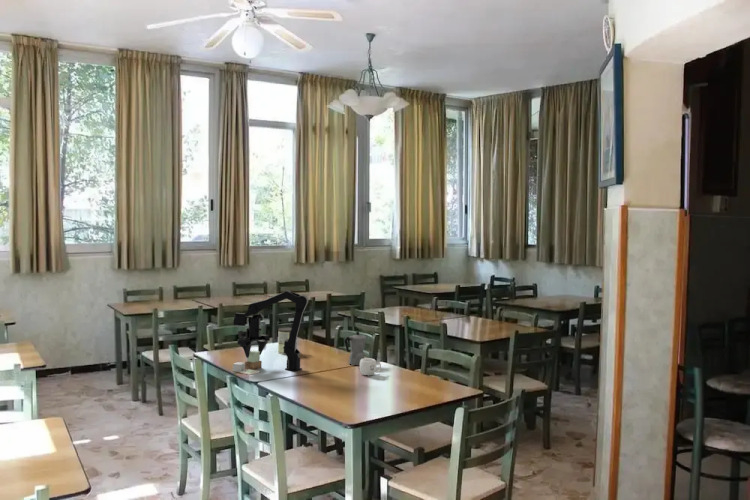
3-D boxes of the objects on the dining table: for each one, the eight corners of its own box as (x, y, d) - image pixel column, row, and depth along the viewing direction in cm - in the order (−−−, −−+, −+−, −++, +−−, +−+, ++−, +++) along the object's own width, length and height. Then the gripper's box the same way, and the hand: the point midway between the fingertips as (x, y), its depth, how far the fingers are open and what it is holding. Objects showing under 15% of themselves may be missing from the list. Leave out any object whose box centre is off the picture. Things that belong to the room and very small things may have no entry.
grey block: (245, 370, 331) (245, 363, 331) (240, 372, 327) (240, 364, 327) (237, 369, 333) (237, 362, 332) (232, 371, 328) (232, 363, 328)
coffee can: (280, 350, 383) (280, 326, 382) (297, 351, 382) (297, 327, 381) (275, 354, 373) (276, 329, 372) (293, 354, 372) (293, 330, 371)
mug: (363, 377, 324) (364, 362, 324) (356, 373, 331) (356, 358, 331) (384, 375, 330) (385, 360, 329) (377, 371, 337) (377, 356, 337)
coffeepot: (361, 361, 361) (362, 329, 360) (371, 364, 354) (372, 331, 353) (338, 364, 351) (339, 331, 350) (349, 367, 344) (350, 334, 343)
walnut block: (261, 368, 337) (261, 360, 337) (254, 370, 332) (254, 363, 332) (252, 366, 340) (252, 359, 340) (245, 369, 335) (245, 361, 335)
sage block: (259, 361, 337) (259, 351, 336) (253, 362, 333) (253, 353, 333) (253, 359, 339) (253, 350, 339) (247, 361, 335) (247, 351, 335)
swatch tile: (259, 372, 328) (259, 371, 328) (249, 374, 322) (249, 373, 322) (249, 370, 332) (249, 369, 332) (239, 372, 326) (239, 371, 326)
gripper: (255, 322, 347) (254, 351, 348) (229, 327, 332) (229, 356, 332) (270, 324, 341) (270, 354, 342) (245, 329, 326) (245, 360, 326)
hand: (253, 356), depth 336 cm, fingers open, 9 cm apart
